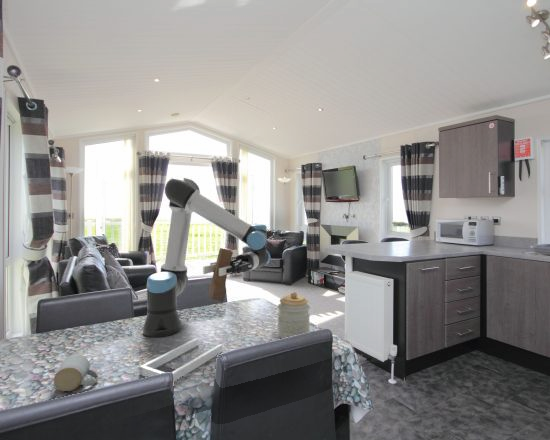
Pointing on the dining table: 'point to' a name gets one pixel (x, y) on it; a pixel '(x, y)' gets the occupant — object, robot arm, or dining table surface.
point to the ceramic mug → (74, 373)
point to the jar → (293, 316)
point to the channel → (150, 367)
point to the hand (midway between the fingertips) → (211, 271)
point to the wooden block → (219, 282)
